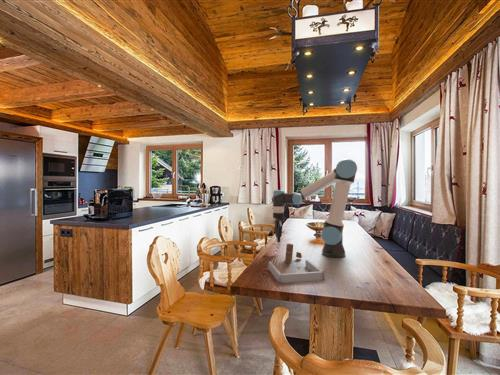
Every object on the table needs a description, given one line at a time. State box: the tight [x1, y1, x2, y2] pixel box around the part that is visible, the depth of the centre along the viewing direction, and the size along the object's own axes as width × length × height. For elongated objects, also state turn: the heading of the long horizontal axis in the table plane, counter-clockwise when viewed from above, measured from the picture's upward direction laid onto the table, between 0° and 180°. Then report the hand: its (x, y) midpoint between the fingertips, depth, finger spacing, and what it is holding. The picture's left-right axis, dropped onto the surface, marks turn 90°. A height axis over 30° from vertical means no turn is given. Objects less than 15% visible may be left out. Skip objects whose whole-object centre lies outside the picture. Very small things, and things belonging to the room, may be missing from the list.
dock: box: [268, 259, 326, 284], centre depth 137 cm, size 24×22×4 cm
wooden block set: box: [284, 243, 303, 265], centre depth 158 cm, size 18×9×10 cm, turn 151°
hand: (278, 246), depth 175 cm, fingers closed
